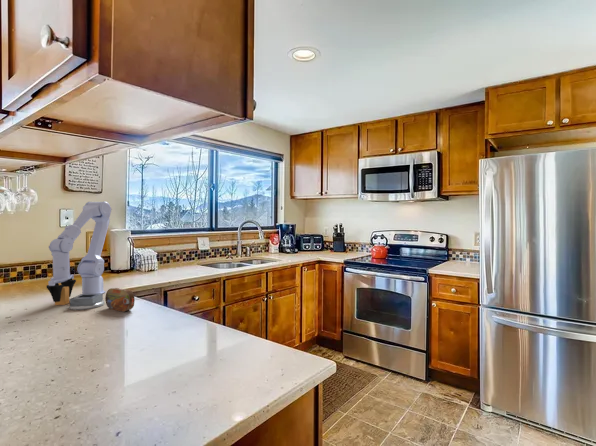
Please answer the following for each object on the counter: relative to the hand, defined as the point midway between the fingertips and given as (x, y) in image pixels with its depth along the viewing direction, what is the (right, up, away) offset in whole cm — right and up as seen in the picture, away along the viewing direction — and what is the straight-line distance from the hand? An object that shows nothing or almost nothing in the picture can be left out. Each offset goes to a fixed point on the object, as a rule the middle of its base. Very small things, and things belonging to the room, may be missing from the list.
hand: (62, 299), depth 141 cm
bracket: (+12, -2, -3) cm, 13 cm away
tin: (+29, -2, -9) cm, 31 cm away
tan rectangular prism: (0, -2, 0) cm, 2 cm away
